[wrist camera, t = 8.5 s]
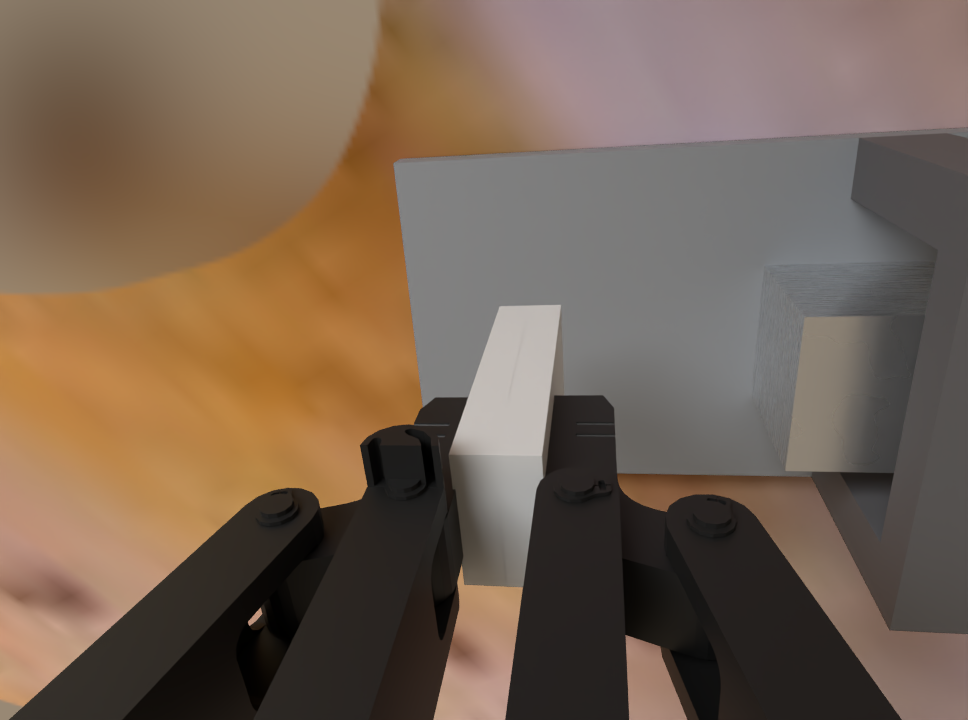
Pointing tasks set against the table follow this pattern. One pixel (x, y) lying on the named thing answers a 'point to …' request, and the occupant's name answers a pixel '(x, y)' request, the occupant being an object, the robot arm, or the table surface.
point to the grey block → (838, 361)
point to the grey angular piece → (714, 309)
